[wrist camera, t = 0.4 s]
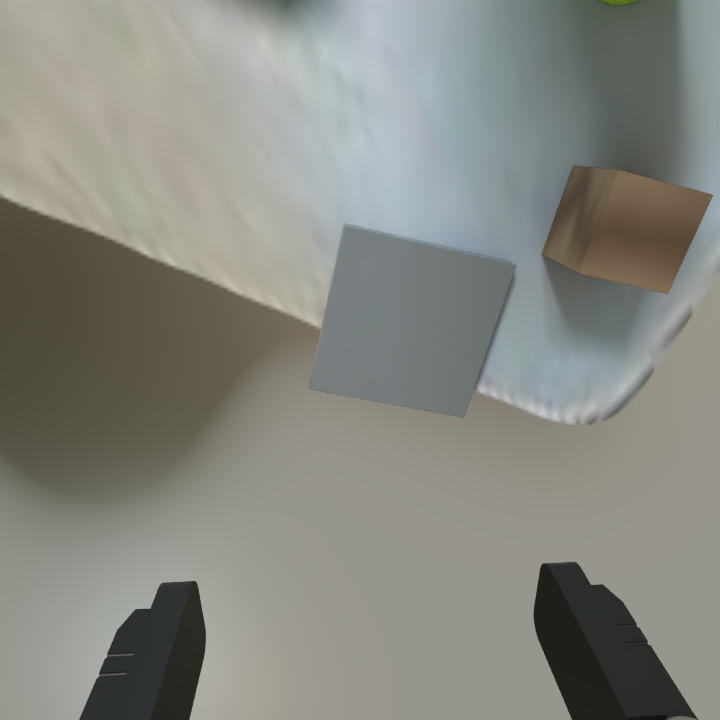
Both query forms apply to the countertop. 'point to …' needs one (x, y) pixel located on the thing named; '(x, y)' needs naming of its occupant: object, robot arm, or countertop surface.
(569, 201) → the walnut cube
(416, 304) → the slate tile
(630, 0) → the soap dispenser
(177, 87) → the countertop surface
